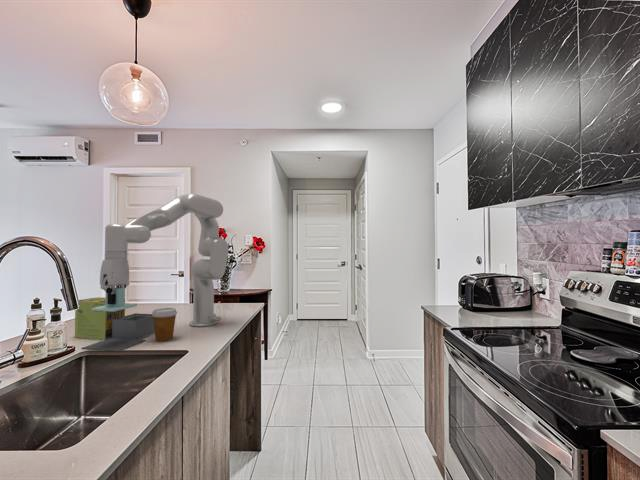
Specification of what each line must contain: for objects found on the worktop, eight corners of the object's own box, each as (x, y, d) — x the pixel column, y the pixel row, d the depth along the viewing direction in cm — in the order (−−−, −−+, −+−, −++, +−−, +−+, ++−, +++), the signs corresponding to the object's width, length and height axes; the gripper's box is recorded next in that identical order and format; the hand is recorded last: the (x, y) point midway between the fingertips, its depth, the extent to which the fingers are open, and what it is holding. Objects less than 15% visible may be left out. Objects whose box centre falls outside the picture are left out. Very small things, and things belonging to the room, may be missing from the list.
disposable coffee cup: (182, 337, 137) (182, 308, 137) (162, 343, 129) (162, 313, 129) (165, 335, 141) (166, 307, 141) (145, 340, 133) (146, 311, 133)
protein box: (105, 340, 134) (105, 302, 134) (74, 338, 137) (74, 300, 137) (125, 333, 144) (125, 297, 144) (95, 331, 147) (96, 296, 147)
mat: (146, 340, 133) (146, 339, 133) (119, 351, 119) (119, 350, 119) (111, 338, 136) (111, 337, 136) (81, 348, 122) (81, 347, 122)
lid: (136, 305, 132) (137, 286, 133) (113, 311, 121) (114, 290, 121) (116, 305, 134) (116, 285, 134) (91, 310, 123) (91, 289, 123)
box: (156, 331, 146) (157, 314, 146) (135, 340, 133) (135, 321, 133) (135, 330, 148) (135, 313, 148) (111, 338, 135) (112, 319, 135)
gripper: (123, 255, 137) (122, 299, 136) (89, 256, 121) (88, 306, 120) (139, 255, 135) (138, 300, 135) (107, 256, 119) (106, 307, 119)
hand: (115, 303), depth 128 cm, fingers closed on lid, 2 cm apart
